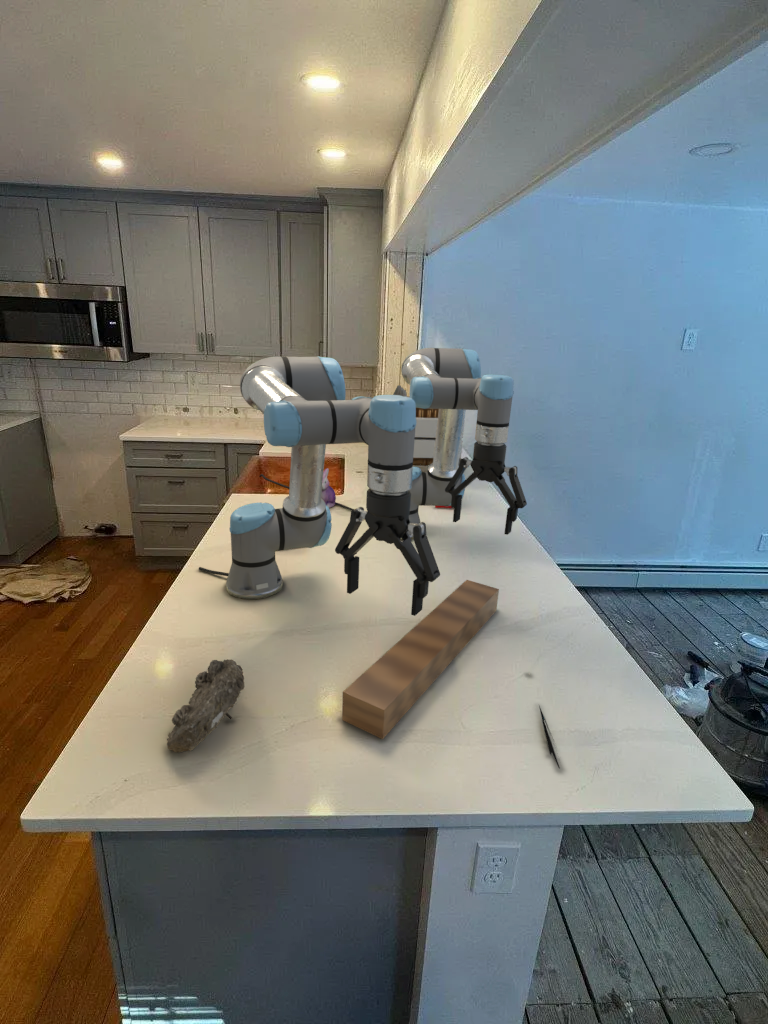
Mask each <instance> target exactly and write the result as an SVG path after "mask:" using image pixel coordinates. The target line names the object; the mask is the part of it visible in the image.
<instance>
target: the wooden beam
mask: <svg viewBox="0 0 768 1024" xmlns="http://www.w3.org/2000/svg"><path fill="white" fill-rule="evenodd" d="M499 592H500V588H497V587H493V586H490V585H487V584H483V583H480V582H476V581H472V580H470V579H466V580H465V581H464V582H463V583H461V584H460V585H459V586H458V587H457V588H456V589H454V590H453V591H452V592H451V593H450V594H449V595H448V596H446V598H445V599H444V600H442V601H441V603H439V604H438V605H436V607H435V608H433V609H432V610H431V611H430V612H428V614H427V615H426V616H425V617H424V618H422V619H421V620H420V621H419V622H418V623H417V624H416V625H415V626H414V627H413V628H412V629H410V630H409V631H408V632H407V633H406V634H405V635H404V636H403V637H402V638H401V639H400V640H398V641H397V642H396V643H395V644H394V645H393V646H392V647H390V648H389V650H387V651H386V652H385V653H384V654H383V655H382V656H381V657H379V658H378V659H377V660H376V661H375V662H374V663H372V665H370V667H368V668H367V669H366V670H365V671H364V672H363V673H362V674H361V675H360V676H358V677H357V678H356V679H355V680H354V681H353V682H352V683H351V684H349V685H348V686H347V687H346V688H345V689H344V690H343V691H342V709H341V710H342V711H341V720H342V721H343V722H346V723H347V724H350V725H351V726H354V727H356V728H358V729H360V730H362V731H365V732H366V733H368V734H371V735H373V736H375V737H377V738H378V739H380V740H384V739H385V738H386V736H387V735H388V734H389V733H390V732H391V731H392V729H393V728H394V727H395V726H397V724H398V723H399V722H400V720H401V719H402V718H403V717H405V715H406V714H407V713H408V711H409V710H410V709H411V708H412V707H413V706H414V705H415V703H416V702H417V701H418V700H419V699H420V698H421V697H422V696H423V695H424V693H425V692H427V690H428V689H429V688H430V686H432V685H433V683H434V682H435V681H436V680H437V679H438V678H439V677H440V676H441V674H442V673H443V672H444V671H445V669H447V667H448V666H449V665H450V664H451V663H452V662H453V661H454V659H455V658H456V657H457V656H458V655H459V654H460V653H461V652H462V651H463V649H464V648H465V647H466V646H467V645H468V644H469V643H470V642H471V640H472V639H473V638H474V637H475V636H476V634H477V633H479V631H480V630H481V629H482V628H483V627H484V626H485V624H486V623H488V621H489V620H490V619H491V618H492V616H494V614H495V613H496V612H497V608H498V600H499V594H500V593H499Z"/></svg>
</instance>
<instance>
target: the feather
mask: <svg viewBox="0 0 768 1024" xmlns="http://www.w3.org/2000/svg"><path fill="white" fill-rule="evenodd" d="M528 675H529V676H530V673H528ZM538 708H539V712H540V716H541V721H542V726H543V731H544V735H545V739H546V743H547V747H548V750H549V755H552V756H553V758H554V760H555V761H554V762H555V763H556V765H557V767H558V769H560V768H561V767H560V765H559V762H558V759H557V756H558V755H556V753H555V752H556V751H555V750H557V749H558V748H557V746H556V745H555V744H552V743H553V742H554V741H555V739H554V737H553V736H550V734H552V733H551V731H550V727H549V725H548V723H547V721H546V718H545V716H544V713H543V711H542V708H541V706H540V705H538ZM554 749H555V750H554ZM558 757H559V756H558Z"/></svg>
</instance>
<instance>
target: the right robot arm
mask: <svg viewBox="0 0 768 1024" xmlns="http://www.w3.org/2000/svg"><path fill="white" fill-rule="evenodd" d="M400 373H401V376H402V379H403V380H404V381H405V383H406V384H407V385H408V386H409V396H410V398H412V399H413V400H414V401H415V404H416V408H422V409H439V412H438V421H437V430H436V439H435V448H434V457H433V463H432V464H430V465H428V466H427V471H422V469H421V468H420V466H413V469H412V488H411V489H410V490H409V491H410V492H411V504H410V513H409V520H410V523H416V524H419V523H421V522H422V521H421V518H420V515H419V507H420V506H427V507H428V506H429V507H433V506H434V507H435V506H446V507H447V506H451V508H450V509H453V515H452V522H453V523H457V522H458V521H460V520H461V511H462V502H463V498H464V495H465V490H466V488H467V487H468V486H469V485H471V483H472V482H474V481H475V480H476V479H478V481H481V482H487V483H494V484H495V486H497V488H498V489H499V491H500V493H501V494H502V496H503V498H504V500H505V501H506V502H507V504H508V505H509V507H508V508H507V509H506V518H505V527H504V534H503V535H506V536H508V535H509V534H510V533H511V532H512V529H513V528H512V527H513V523H515V521H517V519H518V512H519V509H523V508H524V507H526V506H527V505H528V502H527V500H526V496H525V493H524V491H523V488H522V485H521V482H520V479H519V476H518V466H517V465H514V466H506V464H505V463H506V455H507V444H506V443H508V438H509V437H508V436H509V429H510V420H511V411H512V404H513V398H514V394H515V391H514V384H515V383H514V381H515V380H514V378H513V377H512V376H510V375H505V374H496V373H495V374H494V373H493V374H491V373H489V374H485V375H482V367H481V360H480V356H479V353H478V352H477V351H476V350H474V349H468V348H467V349H466V348H456V347H455V348H453V347H452V348H451V347H450V348H449V347H423V348H420V349H416V350H415V351H413V352H411V353H409V354H408V355H407V356H405V358H404V359H403V361H402V363H401V372H400ZM466 411H477V413H476V414H477V415H476V423H475V424H476V426H475V433H474V440H475V442H474V443H473V451H472V452H473V453H472V459H469V457H467V456H465V457H463V458H462V459H461V460H460V463H459V455H460V448H461V440H462V441H463V438H462V433H463V434H464V432H463V426H464V427H465V421H464V420H465V417H466ZM458 463H459V466H458ZM469 467H471V470H472V471H473V472H472V473H470V475H468V476H467V478H466V476H465V474H464V473H465V472H466V470H467V468H469ZM504 473H505V474H506V476H508V479H509V483H510V485H511V488H510V487H509V485H508V483H507V482H506V478H505V477H504V476H503V475H504ZM259 478H263V479H264V480H265V481H267V482H269V483H272V484H274V485H277V486H279V487H282V488H285V489H288V490H289V486H288V485H285V484H282V483H280V482H278V481H275V480H272V479H270V478H268V477H266V476H265V475H264V474H263V473H261V474H259ZM511 489H512V490H511ZM335 505H336V506H338V507H341V508H344V509H346V510H349V511H350V512H351V511H352V510H355V508H352V507H350V506H347V505H344V504H342V503H339V502H336V501H335ZM407 533H408V534H409V536H410V538H411V540H414V538H413V536H411V532H410V531H409V530H408V532H407ZM400 540H401V541H403V539H402V538H401V539H400Z"/></svg>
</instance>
